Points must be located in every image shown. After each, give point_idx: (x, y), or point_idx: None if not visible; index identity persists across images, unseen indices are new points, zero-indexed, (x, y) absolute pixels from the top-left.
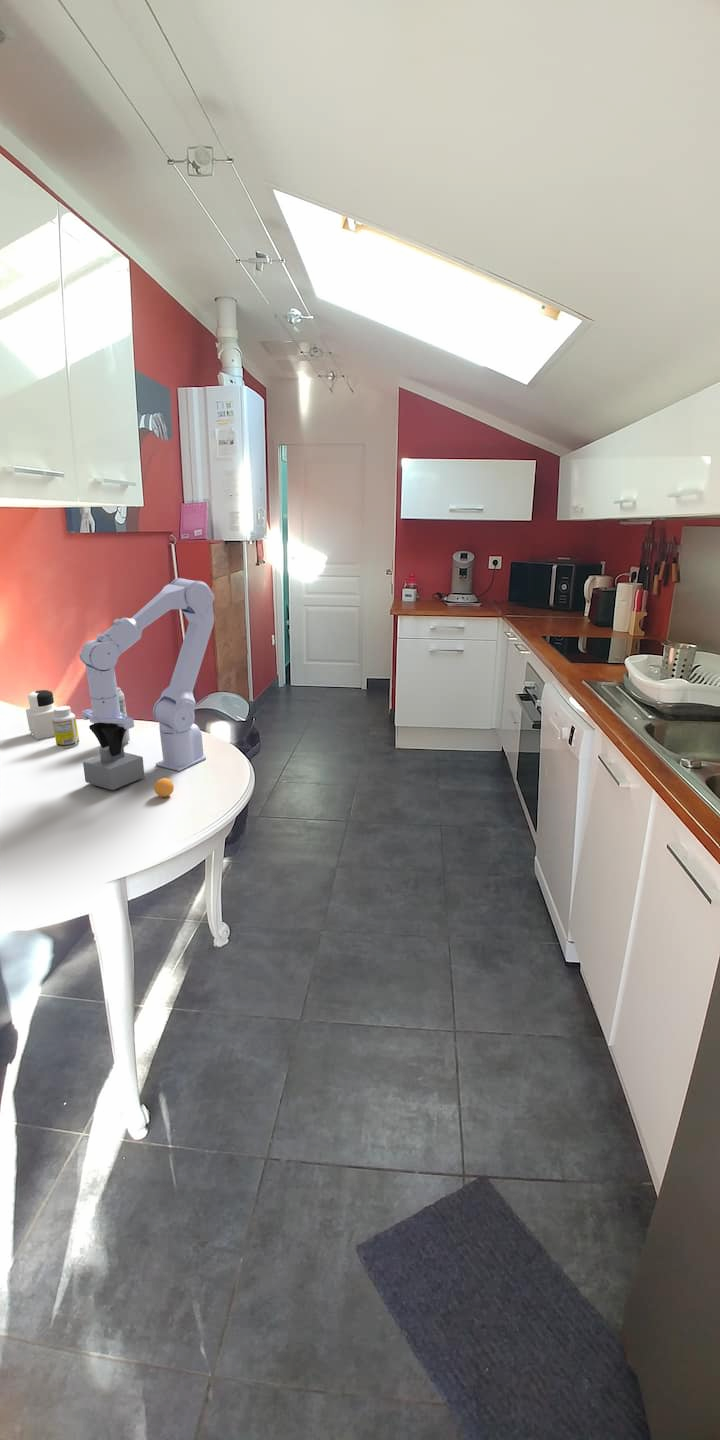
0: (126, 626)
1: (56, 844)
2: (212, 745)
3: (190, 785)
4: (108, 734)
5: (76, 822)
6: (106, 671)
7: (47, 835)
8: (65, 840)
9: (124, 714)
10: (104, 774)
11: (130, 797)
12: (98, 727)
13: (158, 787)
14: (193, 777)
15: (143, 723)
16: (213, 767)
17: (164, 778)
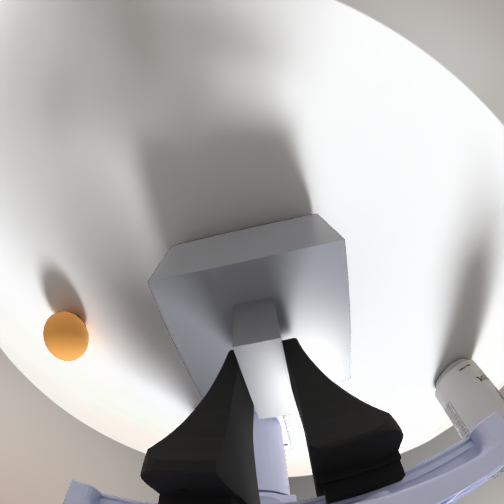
0: None
1: (31, 38)
2: None
3: (105, 382)
4: (170, 441)
5: (73, 85)
6: None
7: (73, 21)
8: (29, 54)
9: (462, 438)
10: (195, 259)
11: (114, 264)
12: (311, 460)
13: (48, 322)
14: (143, 406)
15: None
16: None
17: (58, 354)
